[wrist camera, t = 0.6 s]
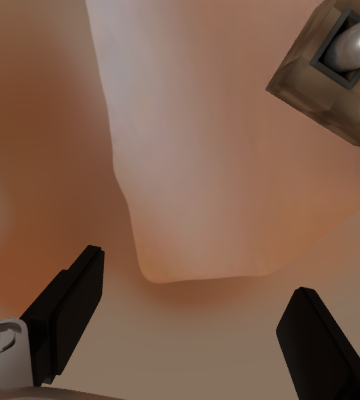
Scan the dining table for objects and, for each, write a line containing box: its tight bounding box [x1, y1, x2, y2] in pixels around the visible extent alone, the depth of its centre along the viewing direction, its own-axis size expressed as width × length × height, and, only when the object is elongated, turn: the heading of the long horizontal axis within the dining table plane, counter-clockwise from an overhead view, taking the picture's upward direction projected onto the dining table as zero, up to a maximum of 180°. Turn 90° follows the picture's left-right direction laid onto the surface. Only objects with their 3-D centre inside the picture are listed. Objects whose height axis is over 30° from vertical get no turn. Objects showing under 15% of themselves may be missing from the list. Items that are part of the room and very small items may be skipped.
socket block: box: [265, 0, 360, 147], centre depth 29 cm, size 11×17×9 cm, turn 61°
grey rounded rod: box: [318, 22, 360, 74], centre depth 23 cm, size 4×4×9 cm
